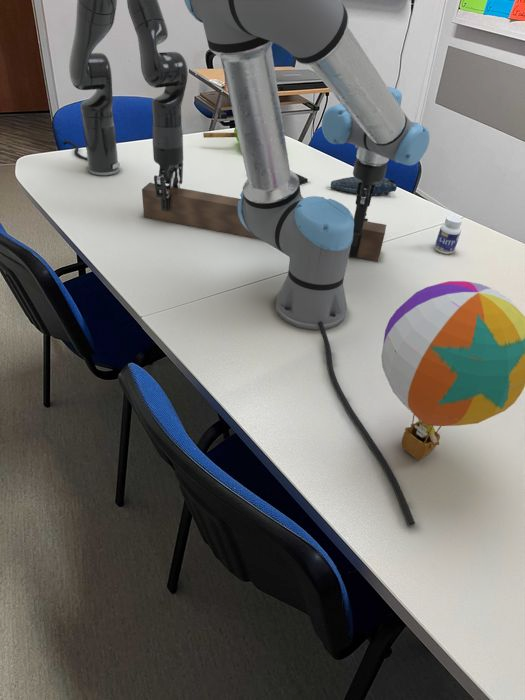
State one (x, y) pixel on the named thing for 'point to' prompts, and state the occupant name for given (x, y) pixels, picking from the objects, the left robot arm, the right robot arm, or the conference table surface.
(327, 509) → the conference table surface
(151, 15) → the left robot arm
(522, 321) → the toy
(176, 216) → the beam
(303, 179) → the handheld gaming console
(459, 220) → the pill bottle
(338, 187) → the fish model
